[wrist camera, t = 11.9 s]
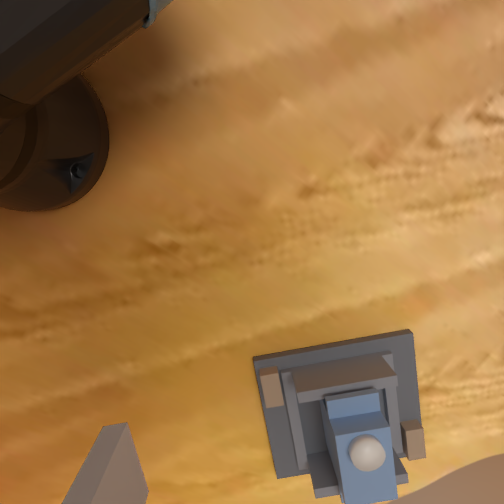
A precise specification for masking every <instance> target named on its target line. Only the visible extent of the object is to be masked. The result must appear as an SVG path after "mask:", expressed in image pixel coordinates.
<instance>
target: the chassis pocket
mask: <svg viewBox="0 0 504 504" xmlns="http://www.w3.org/2000/svg"><path fill="white" fill-rule="evenodd" d="M253 362H254V367H255V372H256V377H257V381H258V386H259V391H260V396H261V401H262V406H263V411H264V416H265V421H266V426H267V431H268V435H269V440H270V445H271V450H272V455H273V460H274V465H275V470H276V475H277V479H280V478H286V477H292V476H298V475H304V474H310V475H311V479H312V484H313V489H314V493H315V498H322V497H328V496H334V495H340V492H339V486H338V480H337V477H336V474H335V470H334V467H333V464H332V461H331V457H330V454H329V451H328V448H327V444H326V439H325V433H324V427H323V420H322V414H321V408H320V402H319V400H322V399H325V397H326V396H332V395H338V394H344V393H349V392H355V391H361V390H367V389H373V388H376V389H377V391H378V393H379V402H380V411H381V412H382V414H383V416H384V417H385V419H386V421H387V422H388V424H389V426H390V431H391V440H392V449H393V458H394V467H395V476H396V485H399V484H405V483H408V473H407V472H406V470H405V468H404V466H403V464H402V463H401V461H400V459H399V458H403V457H407V458H408V460H409V461H411V460H416V459H422V458H426V452H425V441H424V430H423V427H422V425H421V414H420V403H419V393H418V382H417V371H416V360H415V350H414V339H413V333H412V332H411V331H410V330H409V329H407V330H401V331H395V332H390V333H384V334H379V335H373V336H367V337H362V338H356V339H351V340H345V341H340V342H334V343H328V344H323V345H317V346H312V347H306V348H300V349H295V350H289V351H284V352H278V353H272V354H267V355H261V356H256V357H253Z"/></svg>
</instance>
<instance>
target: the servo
mask: <svg viewBox="0 0 504 504" xmlns="http://www.w3.org/2000/svg"><path fill="white" fill-rule="evenodd" d="M319 402H320V408H321V414H322V420H323V427H324V433H325V439H326V444H327V448H328V451H329V454H330V457H331V461H332V464H333V467H334V470H335V474H336V477H337V480H338V486H339V492H340V498H341V501H342V503H345V504H370V503H376V502H382V501H388V500H394V499H398V494H397V485H396V476H395V467H394V458H393V449H392V440H391V431H390V426H389V424H388V422H387V421H386V419H385V417H384V416H383V414H382V412H381V411H380V402H379V393H378V391H377V389H376V388H373V389H367V390H361V391H355V392H349V393H344V394H338V395H332V396H326V397H325V399H322V400H319Z"/></svg>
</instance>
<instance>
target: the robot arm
mask: <svg viewBox="0 0 504 504" xmlns="http://www.w3.org/2000/svg"><path fill="white" fill-rule="evenodd" d="M172 1H173V0H0V207H3V208H7V209H11V210H18V211H42V210H50V209H56V208H60V207H63V206H66V205H69V204H71V203H73V202H75V201H77V200H78V199H80V198H81V197H82V196H84V195H85V194H86V193H87V192H88V191H89V190H90V189H91V188H92V187H93V186H94V185H95V183H96V182H97V180H98V179H99V177H100V175H101V173H102V171H103V169H104V166H105V163H106V160H107V156H108V149H109V130H108V124H107V120H106V116H105V113H104V110H103V107H102V105H101V103H100V100H99V98H98V97H97V95H96V93H95V92H94V90H93V88H92V87H91V86H90V84H89V83H88V82H87V81H86V79H85V78H84V77H83V76H82V75H81V74H80V73H81V72H82V71H83V70H85V69H86V68H87V67H89V66H90V65H92V64H93V63H94V62H96V61H97V60H98V59H100V58H101V57H102V56H104V55H105V54H106V53H108V52H109V51H110V50H112V49H113V48H114V47H116V46H117V45H118V44H120V43H121V42H122V41H124V40H125V39H126V38H128V37H129V36H130V35H132V34H133V33H134V32H136V31H137V30H138V29H140V28H141V27H143V28H147V27H149V26H150V25H152V23H153V22H154V21H155V18H156V15H157V14H158V13H159V12H160V11H161V10H162V9H163V8H165V7H166V6H167V5H168V4H169V3H170V2H172ZM148 492H149V490H148V487H147V484H146V481H145V477H144V474H143V471H142V468H141V465H140V461H139V458H138V455H137V452H136V449H135V445H134V442H133V439H132V436H131V433H130V429H129V426H128V423H127V422H126V423H120V424H115V425H109V426H103V428H102V430H101V432H100V434H99V435H98V437H97V439H96V441H95V443H94V445H93V447H92V448H91V450H90V452H89V454H88V456H87V458H86V460H85V461H84V463H83V465H82V467H81V469H80V471H79V473H78V474H77V476H76V478H75V480H74V482H73V484H72V486H71V487H70V489H69V491H68V493H67V495H66V497H65V499H64V500H63V502H62V504H145V503H146V499H147V496H148Z"/></svg>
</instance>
